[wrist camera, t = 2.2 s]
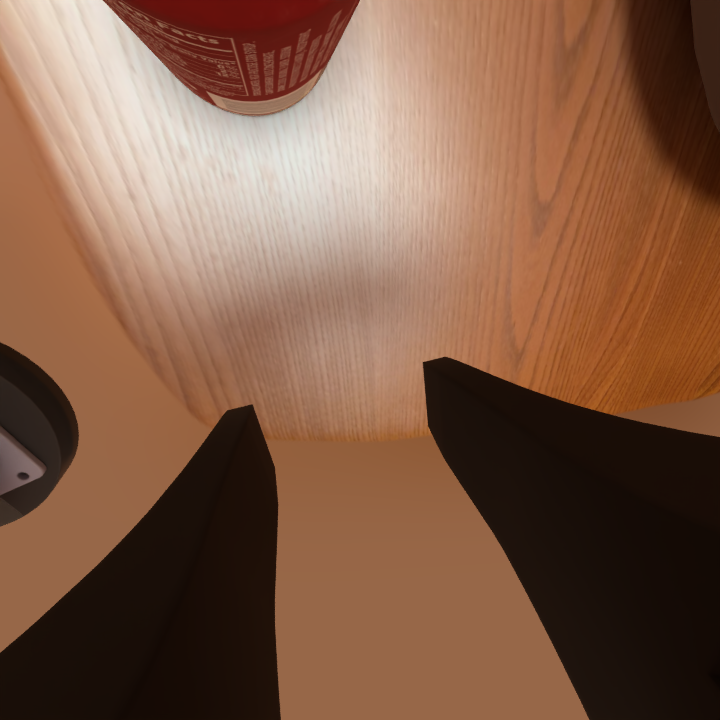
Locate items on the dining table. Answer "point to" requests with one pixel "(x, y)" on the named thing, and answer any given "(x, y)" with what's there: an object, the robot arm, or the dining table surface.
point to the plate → (708, 50)
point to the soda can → (241, 46)
